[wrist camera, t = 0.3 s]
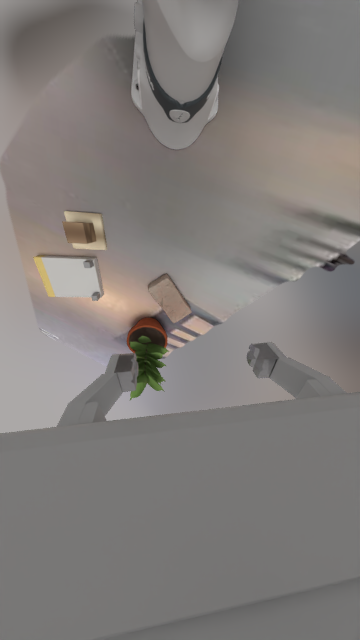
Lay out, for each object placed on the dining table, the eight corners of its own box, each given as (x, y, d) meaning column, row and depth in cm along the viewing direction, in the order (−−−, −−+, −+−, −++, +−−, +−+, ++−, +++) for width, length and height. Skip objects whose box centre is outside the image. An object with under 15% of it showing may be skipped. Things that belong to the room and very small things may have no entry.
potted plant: (135, 345, 69) (122, 417, 43) (126, 315, 61) (102, 382, 35) (169, 340, 69) (176, 408, 44) (164, 310, 61) (168, 371, 36)
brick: (147, 285, 56) (146, 290, 52) (166, 271, 54) (167, 275, 50) (172, 318, 64) (173, 324, 60) (190, 307, 62) (192, 313, 59)
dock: (40, 255, 47) (25, 259, 42) (96, 257, 49) (89, 261, 44) (54, 293, 53) (43, 300, 48) (104, 293, 55) (98, 301, 50)
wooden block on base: (66, 211, 43) (48, 209, 36) (101, 214, 44) (90, 212, 37) (75, 247, 48) (61, 252, 40) (107, 249, 49) (98, 253, 41)
